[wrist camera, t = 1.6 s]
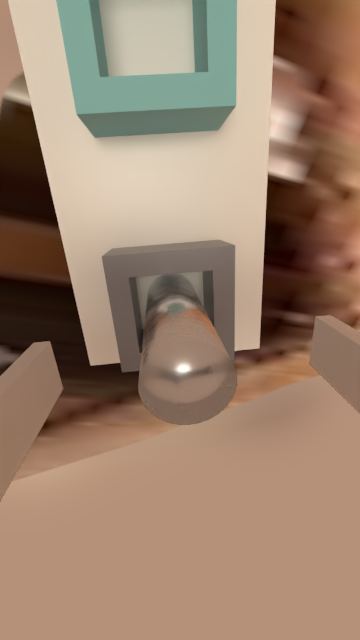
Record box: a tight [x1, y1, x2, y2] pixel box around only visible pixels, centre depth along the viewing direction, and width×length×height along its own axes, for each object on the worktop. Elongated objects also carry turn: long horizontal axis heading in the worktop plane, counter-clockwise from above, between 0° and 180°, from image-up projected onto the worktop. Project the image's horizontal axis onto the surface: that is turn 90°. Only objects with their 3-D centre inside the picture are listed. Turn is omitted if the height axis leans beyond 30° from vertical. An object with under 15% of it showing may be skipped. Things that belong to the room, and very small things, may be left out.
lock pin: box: [138, 273, 237, 425], centre depth 17 cm, size 4×4×13 cm
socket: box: [56, 0, 237, 138], centre depth 15 cm, size 9×9×4 cm
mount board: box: [8, 0, 276, 372], centre depth 18 cm, size 16×28×6 cm, turn 4°
